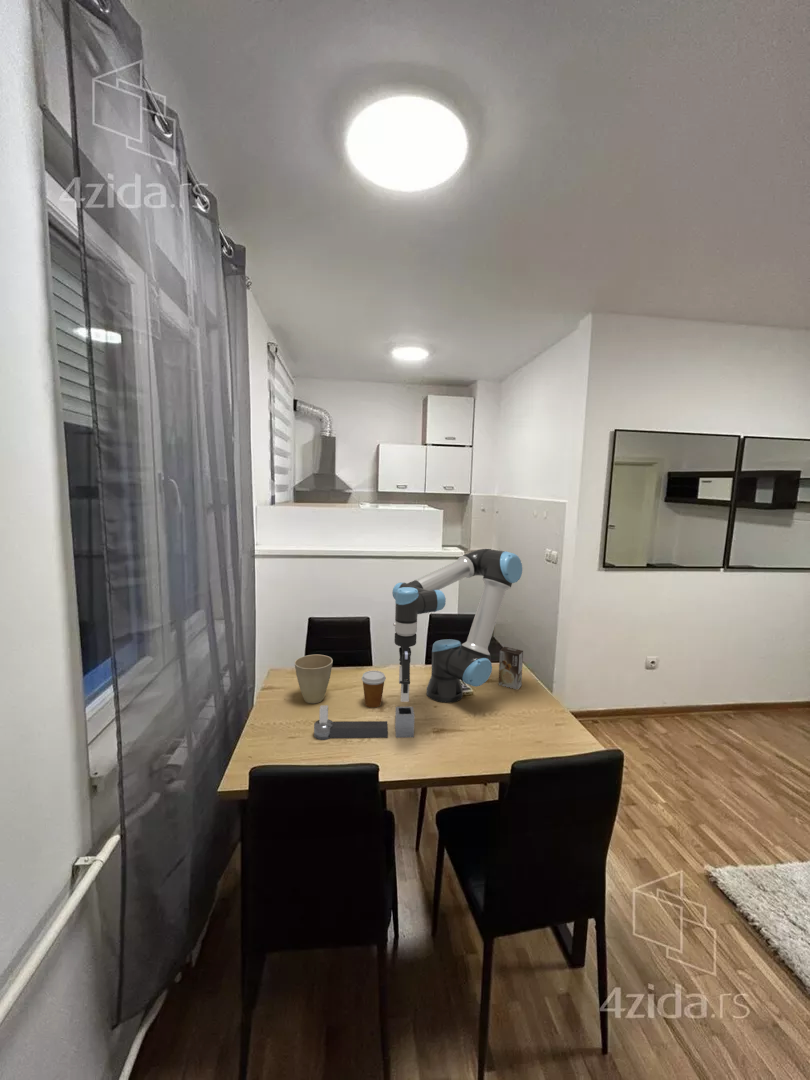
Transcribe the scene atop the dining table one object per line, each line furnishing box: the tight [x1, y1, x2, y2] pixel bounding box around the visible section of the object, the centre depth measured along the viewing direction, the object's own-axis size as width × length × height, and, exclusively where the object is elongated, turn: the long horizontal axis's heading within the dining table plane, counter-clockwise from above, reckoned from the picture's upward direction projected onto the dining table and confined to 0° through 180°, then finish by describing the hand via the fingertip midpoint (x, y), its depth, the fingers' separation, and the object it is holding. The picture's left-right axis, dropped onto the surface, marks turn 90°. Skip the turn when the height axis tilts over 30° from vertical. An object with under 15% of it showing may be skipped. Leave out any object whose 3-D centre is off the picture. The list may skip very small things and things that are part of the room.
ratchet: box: [313, 704, 389, 741], centre depth 151 cm, size 25×6×10 cm, turn 94°
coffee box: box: [497, 646, 524, 690], centre depth 194 cm, size 9×6×16 cm
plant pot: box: [294, 654, 334, 704], centre depth 175 cm, size 15×15×16 cm
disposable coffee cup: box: [361, 670, 386, 709], centre depth 173 cm, size 10×10×12 cm
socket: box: [394, 706, 415, 739], centre depth 153 cm, size 6×6×8 cm
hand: (403, 691), depth 152 cm, fingers open, 13 cm apart
